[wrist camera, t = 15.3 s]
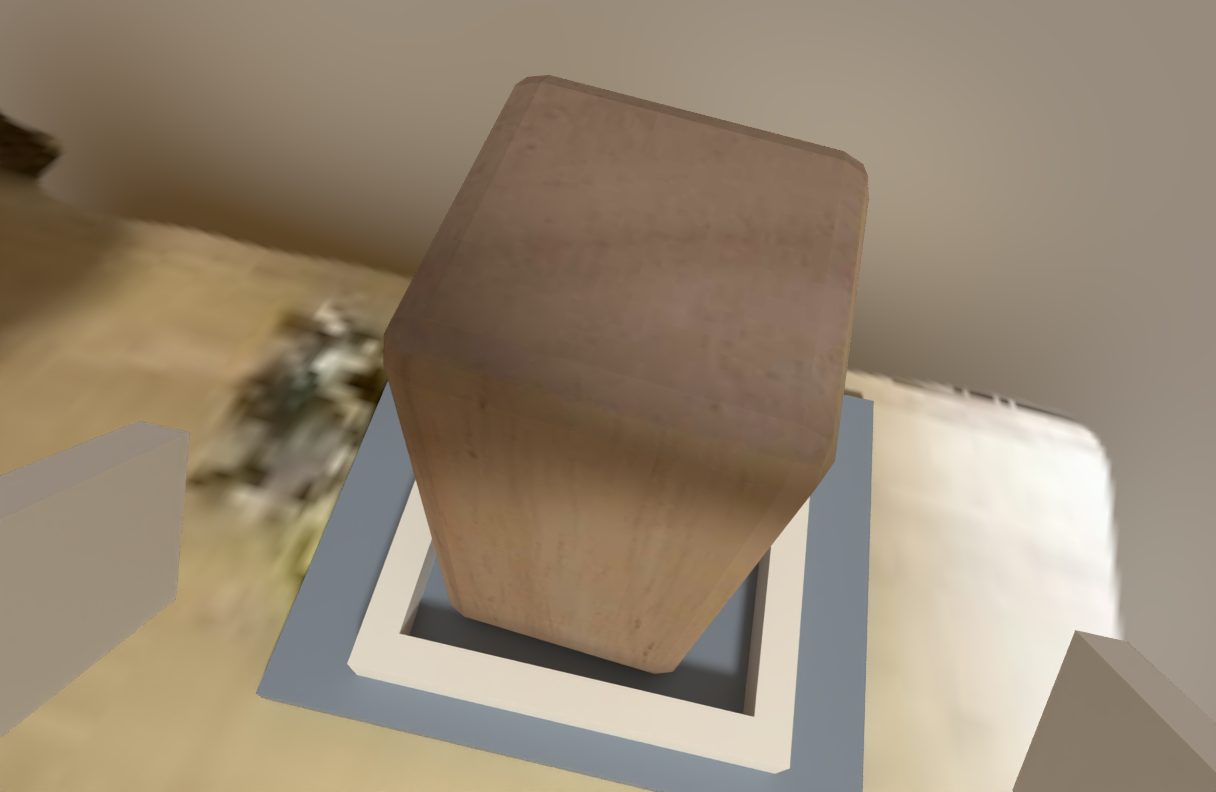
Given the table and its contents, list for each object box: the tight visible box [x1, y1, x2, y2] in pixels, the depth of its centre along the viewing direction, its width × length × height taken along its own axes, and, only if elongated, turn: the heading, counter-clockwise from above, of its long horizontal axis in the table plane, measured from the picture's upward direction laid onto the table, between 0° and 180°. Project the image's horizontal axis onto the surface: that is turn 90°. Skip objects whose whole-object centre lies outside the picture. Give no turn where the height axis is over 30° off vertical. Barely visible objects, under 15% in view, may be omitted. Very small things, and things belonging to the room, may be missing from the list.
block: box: [383, 75, 869, 674], centre depth 26 cm, size 10×10×20 cm
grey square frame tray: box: [256, 382, 874, 792], centre depth 35 cm, size 24×20×3 cm
